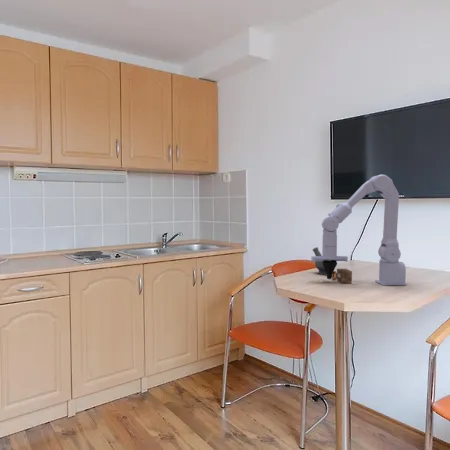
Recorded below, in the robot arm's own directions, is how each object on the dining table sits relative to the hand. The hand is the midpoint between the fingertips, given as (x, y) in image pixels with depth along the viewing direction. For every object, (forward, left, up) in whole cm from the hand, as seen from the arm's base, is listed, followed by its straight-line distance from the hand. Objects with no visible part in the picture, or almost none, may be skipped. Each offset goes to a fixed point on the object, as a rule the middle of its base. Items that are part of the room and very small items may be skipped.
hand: (329, 278), depth 162 cm
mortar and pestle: (-3, -20, -2) cm, 20 cm away
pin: (-5, 0, -1) cm, 5 cm away
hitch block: (-6, 0, -1) cm, 6 cm away
